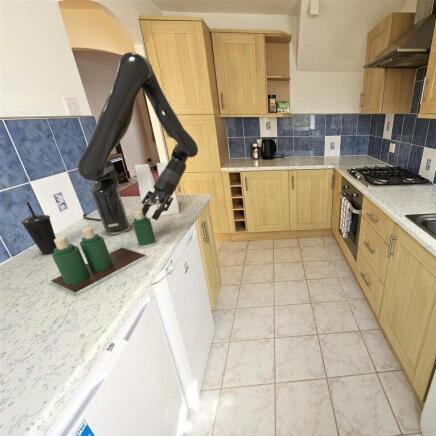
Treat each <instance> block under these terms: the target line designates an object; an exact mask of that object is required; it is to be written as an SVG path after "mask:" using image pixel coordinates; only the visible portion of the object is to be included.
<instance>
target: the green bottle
mask: <svg viewBox="0 0 436 436" xmlns="http://www.w3.org/2000/svg"><path fill="white" fill-rule="evenodd" d="M133 212H134V215H135V218H134V219H133V221H132V222H131V224H132V227H133V231H134V234H135V236H136V237H135V238H136V240H137V243H138V246H142V247H143V246H149V245H151V244H154V243H155V242H156V241H157V239H156V236H155V232H154V229H153V225H152V222H151V219H150V218H147V217H146V215H145V216H144V215H143V211H142V209H138V210H135V211H133Z"/></svg>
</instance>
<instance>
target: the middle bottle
mask: <svg viewBox="0 0 436 436" xmlns="http://www.w3.org/2000/svg"><path fill="white" fill-rule="evenodd" d="M81 232H82V234H83V237H82V238H81V241H80V242H79V246H80V248H81V251H82V253H83V255H84V258H85V260H86V262H87V263H88V265H89V267H90V270H91V271H92V272H99V271H103V270H106V269H108V268H109V267H111V266H112V264H113V263H112V260H111V257H110V255H109V253H110V252H109V250H108V246H107V245H106V241H105V239H104V236H101V235H99V234H98V233H95V231H94V228H93V227H91V226H90V227H85V228H82V229H81Z"/></svg>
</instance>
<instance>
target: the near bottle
mask: <svg viewBox="0 0 436 436" xmlns="http://www.w3.org/2000/svg"><path fill="white" fill-rule="evenodd" d="M54 242H55V244H56V246H57V248H55V249H54V252H53V253H52V254H51V257H52V260H53V261H54V263H55V265H56V267H57V269H58V271H59V273H60V276H61V275H62V277H63V279H64V282H65V284H67V285H73V284H77V283H80V282H82V281H84V280H86V279H87V278H88V277H89V276H90V274H89V271H88V269H87V267H86V264H87V263H86V261H85V260H84V257H83V254H82V252H81V250H80V248H79V246H77V245H74V244H73V243H69V242H68V239H67V237H66V236H60V237H56V239H54Z"/></svg>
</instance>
